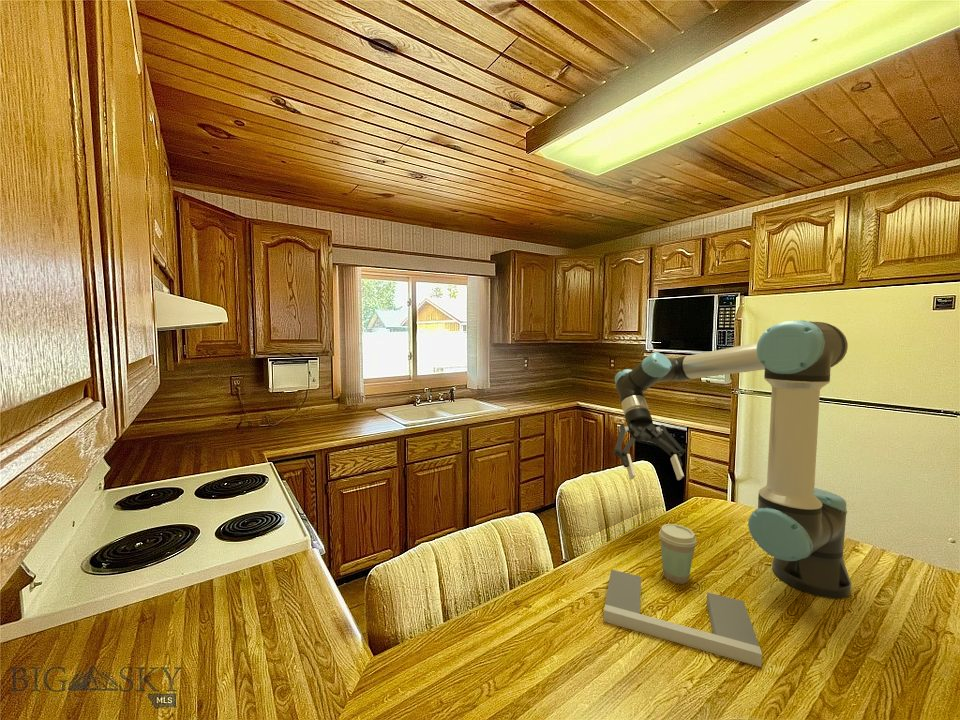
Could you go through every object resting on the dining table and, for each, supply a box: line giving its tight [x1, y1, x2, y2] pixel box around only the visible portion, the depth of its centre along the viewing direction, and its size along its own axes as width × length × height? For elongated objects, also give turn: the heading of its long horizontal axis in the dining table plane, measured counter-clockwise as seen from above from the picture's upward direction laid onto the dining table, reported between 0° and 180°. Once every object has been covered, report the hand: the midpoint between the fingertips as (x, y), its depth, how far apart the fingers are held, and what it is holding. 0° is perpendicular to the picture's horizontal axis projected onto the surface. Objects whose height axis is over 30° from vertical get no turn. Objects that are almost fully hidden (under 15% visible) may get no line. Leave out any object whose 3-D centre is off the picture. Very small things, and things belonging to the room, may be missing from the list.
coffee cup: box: [658, 523, 698, 585], centre depth 99 cm, size 8×8×12 cm
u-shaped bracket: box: [603, 569, 763, 668], centre depth 85 cm, size 28×16×2 cm, turn 66°
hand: (656, 477), depth 109 cm, fingers open, 13 cm apart
